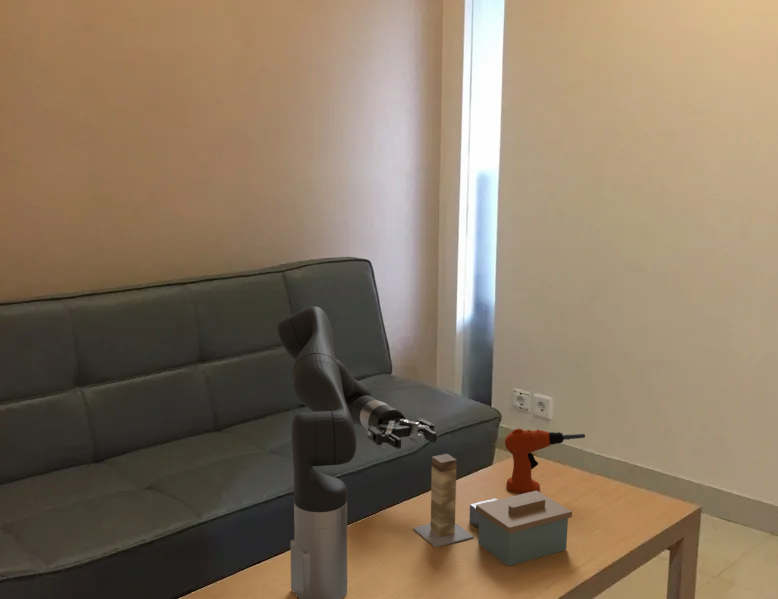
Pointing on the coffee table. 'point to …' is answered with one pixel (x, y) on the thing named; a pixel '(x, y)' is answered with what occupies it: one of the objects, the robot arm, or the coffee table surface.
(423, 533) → the rubber mat
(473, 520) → the gray open box
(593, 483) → the coffee table surface
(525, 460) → the toy drill
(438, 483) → the mottled beige block
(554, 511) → the toolbox
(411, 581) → the coffee table surface
